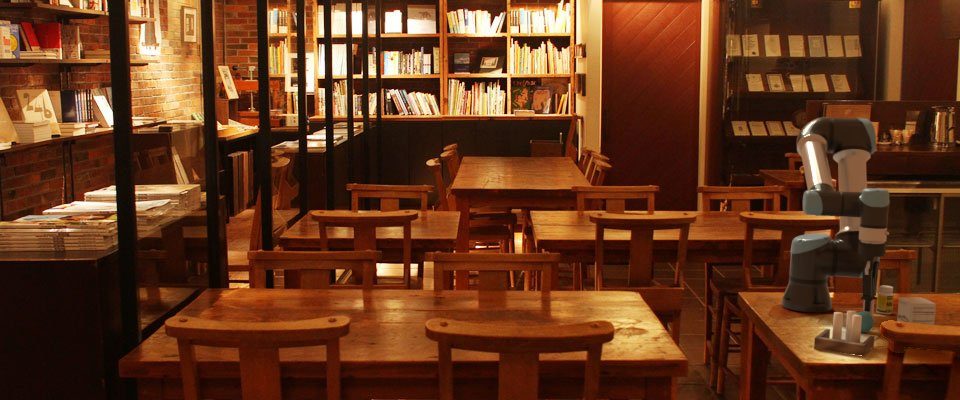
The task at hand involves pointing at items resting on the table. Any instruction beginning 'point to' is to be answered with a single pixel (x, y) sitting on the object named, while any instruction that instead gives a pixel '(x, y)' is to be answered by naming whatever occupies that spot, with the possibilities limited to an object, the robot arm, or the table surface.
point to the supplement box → (916, 310)
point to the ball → (866, 322)
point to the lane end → (842, 344)
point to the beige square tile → (862, 338)
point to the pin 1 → (837, 325)
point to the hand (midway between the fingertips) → (867, 321)
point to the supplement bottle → (885, 300)
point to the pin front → (849, 324)
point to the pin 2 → (856, 328)
